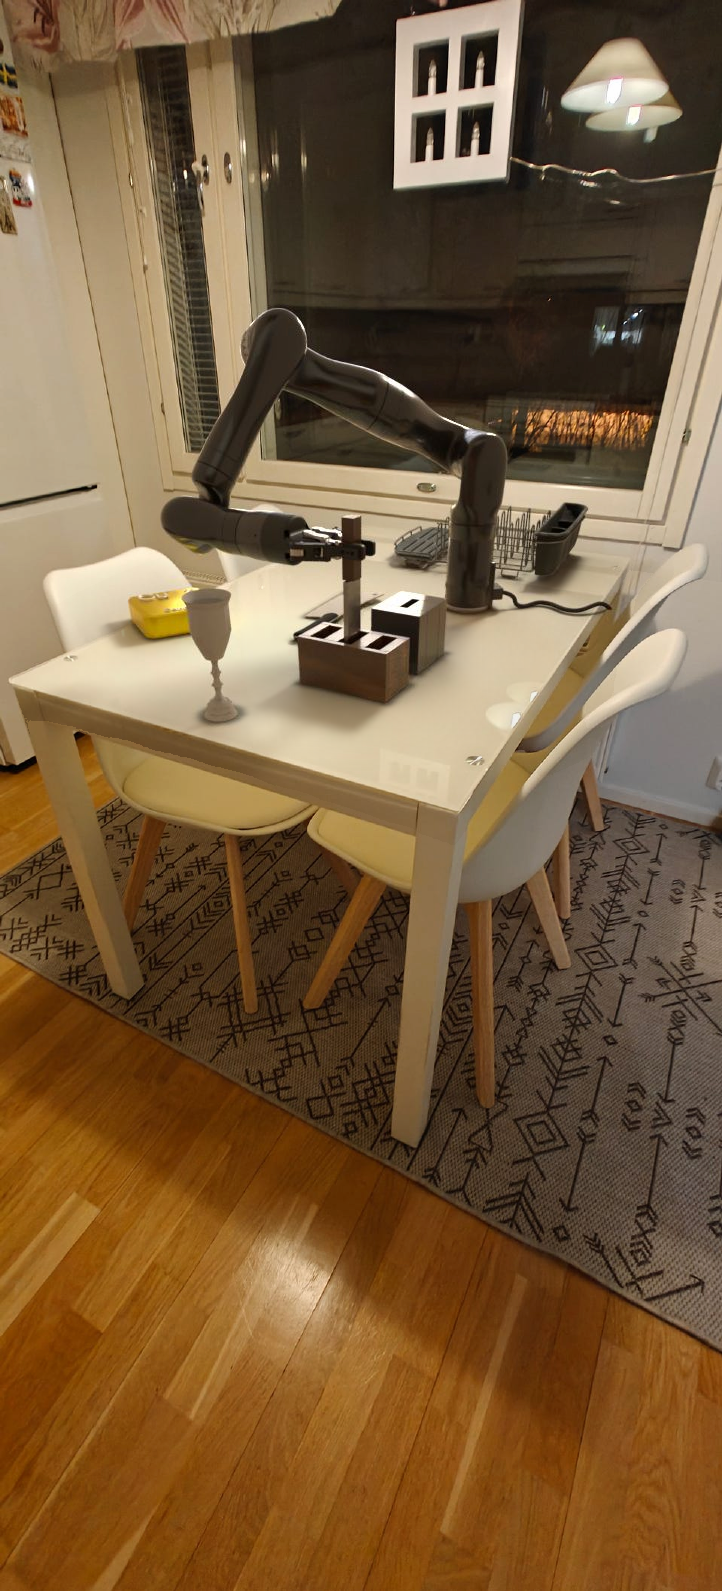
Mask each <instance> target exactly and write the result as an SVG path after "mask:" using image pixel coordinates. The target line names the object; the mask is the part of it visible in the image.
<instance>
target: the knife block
mask: <svg viewBox="0 0 722 1591" xmlns="http://www.w3.org/2000/svg"><path fill="white" fill-rule="evenodd" d="M447 610H448V609H447V598H445V597H442V596H441V597H440V596H433V595H427V594H422V593H421V594H420V593H414V592H408V591H403V590H401V591H399V592H397V593H395V594H394V595H392V596H390V597H388V598H387V599H385V600H383V601H381V602H380V603H377V605H374V606H373V607H371V608H370V631H375V632H381V633H386V634H392V635H397V636H402V637H408V638H410V645H409V674H414V675H419V674H420V673H422V672H423V671H424V670H425V669H427V668H428V667H429V666H430V665H431V664H433V663H434V662H435V661H436V660H438V659H439V658H440V657H442V655H444V654H445V643H446V642H445V641H446V628H447V625H446V623H447Z"/></svg>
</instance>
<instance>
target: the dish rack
mask: <svg viewBox="0 0 722 1591" xmlns="http://www.w3.org/2000/svg"><path fill="white" fill-rule="evenodd" d="M531 510H532V508H531V507H528V508H527V511H526V512H522V514H521V519H520V517H519V516H518V517H517V518H516V519H515V525H514V522H512V511H513V510H512V506H511V505H508V507H507V512H506V510H504V509H503V510H502V512H501V517H500V516H499V514H497V521H496V532H495V538H496V541H495V543H494V545H496V548H494V551H497V552H500V553H499V554H500V555H493V558H498V559H499V561H498V562H495V563H496V565H498V566H496V570H500V575H501V577H502V578H507V579H517V578H518V577H519V572H521V573H534V575H535V576H540V577H541V576H544V577H547V576H551V575H553V574H555V573H556V571H558V569H559V567H560V566H561V565H562V563H564V561H565V559H566V558H567V557H568V555H569V554H570V553H571V551H573V548H574V547H575V545H576V544H577V541H578V538H579V535H580V530H581V526H582V523H583V521H584V520H585V519H586V513H587V511H589V507H588V506H587V505H586V504H582V503H578V502H568V501H565V502H562V504H560V506H559V507H558V508H557V509H556V510H555V511H554V512H553V513H552V510H550V509H548V510H547V514H543V516H542V519H538V520H537V522H536V525H535V524H534V523H533V524H532V525H531V515H532V514H531ZM447 521H448V522H447ZM449 521H450V515H449V516H447V517H446V518H445V520H444V522H441V521H438V522H436V524H437V526H429V527H426V528H424V529H423V528H422V527H423V526H422V525H418V526H416V527H414V528H412V529H409V530H408V531H406V532H405V533H404V534H402V535H400V537H398V538H397V539H396V540H395V541H394V543H393V545H394V547H393V548H394V549H393V550H394V553H395V556H396V558H401V559H403V560H404V565H405V566H409V567H414V568H418V567H421V563H422V561H424V562H428V563H430V562H432V563H439V564H440V563H441V564H447V560H438V559H437V558H441V559H447V556H445V552H448V539H449ZM447 526H448V528H447ZM418 529H420V530H419V531H416V530H418ZM414 531H416V532H415V533H413V532H414ZM409 534H410V535H409ZM407 535H409V536H407ZM404 537H405V538H404ZM400 540H401V541H400ZM503 548H504V549H503ZM509 548H510V549H509ZM520 548H522V551H521V552H520ZM514 554H519V555H520V554H521V558H518V557H517V558H516V557H514ZM508 555H509V556H508ZM529 557H530V559H529ZM408 559H410V560H411V561H413V560H418V561H419V562H418V563H411V562H408ZM502 559H503V563H502ZM508 560H517V561H520V564H511V563H507V561H508ZM523 562H524V563H523ZM529 562H531V570H530V569H523V568H527V566H528V563H529ZM523 564H524V565H523ZM503 566H510V567H503ZM511 566H512V567H519V568H512V567H511ZM504 571H511V572H512V571H513V572H516V575H514V574H513V575H512V574H505V573H504Z"/></svg>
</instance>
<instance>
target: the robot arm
mask: <svg viewBox="0 0 722 1591" xmlns="http://www.w3.org/2000/svg"><path fill="white" fill-rule="evenodd" d="M239 353H240V357H241V360H242V363H243V364H244V367H243V370H242V373H241V375H240V377H239V380H238V383H237V384H236V387H235V388H234V390H233V392H232V394H231V396H230V398H229V399H228V401H227V403H226V405H225V407H224V408H223V410H222V412H220V414H219V417H218V418H217V420H216V421H215V423H214V424H213V426H212V428H211V430H210V432H209V434H208V436H207V438H206V439H205V442H204V444H203V446H202V448H201V451H200V452H199V455H198V457H197V459H196V461H195V463H194V465H193V468H192V471H191V474H190V478H191V481H192V483H193V485H194V486H195V488H196V490H197V492H198V497H195V496H190V495H179V496H176V497H173V498H171V499H170V500H168V501H167V502H166V503H165V504H164V505H163V507H162V508H161V511H160V525H161V527H162V529H163V531H164V532H165V533H166V535H167V536H168V537H169V538H171V539H172V540H173V541H175V542H177V543H178V544H180V545H181V546H183V547H184V548H186V549H187V550H188V551H190V552H191V553H193V554H195V555H200V556H203V555H207V554H209V553H211V552H212V551H213V550H215V549H217V550H219V551H220V552H221V553H225V554H228V555H232V556H239V557H245V558H249V559H252V560H257V561H260V562H265V563H266V562H267V563H272V564H280V565H284V566H285V565H286V566H292V567H295V566H298V565H300V564H301V563H302V562H315V563H317V562H318V563H322V562H323V563H329V562H331V561H332V560H335V561H339V560H342V558H343V559H350V560H357V561H361V562H362V561H365V560H366V557H373V556H375V555H376V551H377V547H376V546H377V544H376V540H374V539H367V538H361V544H356V543H348V542H342V526H337V525H335V526H332V528H331V529H328V528H327V529H325V527H322V526H312V527H311V528H310V526H309V524H308V522H307V521H306V520H305V519H306V518H304V517H303V516H302V515H300V514H297V513H289V512H281V511H272V510H264V509H263V510H262V509H258V510H255V509H254V510H249V509H242V508H231V507H230V505H231V497H232V493H233V490H234V489H235V486H236V485H237V483H238V481H239V478H240V476H241V474H242V472H243V471H244V470H243V469H244V467H245V465H246V463H247V460H248V459H249V456H250V454H251V452H252V449H253V447H254V445H255V443H256V441H257V438H258V436H259V434H260V432H261V429H262V428H263V426H264V424H265V422H266V419H267V417H268V416H269V413H270V412H271V410H272V408H273V407H274V405H275V403H276V401H277V399H278V398H279V396H280V395H281V393H282V391H285V392H289V393H291V394H294V395H297V396H298V397H301V398H304V399H305V400H306V399H307V400H309V401H310V402H312V403H315V404H316V405H318V406H320V407H322V408H323V409H325V410H327V411H328V412H330V413H332V414H333V415H335V416H337V417H339V418H341V419H343V420H345V421H347V422H348V423H351V424H352V425H353V426H356V427H358V428H359V429H361V430H363V431H365V432H367V433H369V434H371V435H372V436H374V437H376V438H379V439H380V440H383V441H385V442H388V443H390V444H392V445H395V446H398V447H401V448H403V449H407V450H409V451H413V452H416V453H418V454H420V455H422V456H424V457H426V458H427V459H429V460H430V461H432V462H434V463H435V464H436V465H438V466H440V467H441V468H443V469H444V470H445V471H446V472H448V473H450V474H451V475H452V476H453V477H454V478H456V479H458V480H459V481H460V485H459V494H458V499H457V500H456V502H455V503H453V504H452V505H451V506H450V509H449V518H450V521H449V539H448V547H447V550H448V551H447V556H446V557H447V558H446V561H447V563H446V575H445V576H446V577H445V583H444V584H445V585H444V587H445V594H444V598H447V610H449V611H452V612H455V613H462V614H477V613H483V612H485V611H487V610H493V602H494V601H500V600H503V597H504V596H507V597H509V598H510V599H511V600H512V603H513V606H514V607H516V608H518V609H528V608H531V607H534V606H535V607H536V606H548V607H551V608H554V609H556V610H558V611H561V612H564V613H571V614H579V613H583V612H587V611H589V610H591V609H594V608H596V607H597V608H598V607H603V608H604V609H605V610H607V611H612V610H613V607H612V606H611V605H610V604H609V603H607V602H605V601H594V602H592V603H590V604H588V605H585V606H581V607H576V608H572V607H566V606H563V605H560V604H558V603H556V602H553V601H548V600H543V599H539V600H533V601H530V602H527V603H519V601H518V599H517V596H516V595H515V594H514V593H513V592H510V591H508V590H505V589H504V587H502V585H500V584H499V583H498V582H495V581H496V570H497V569H496V567H497V564H496V563H497V562H496V561H494V557H493V556H494V554H495V553H494V552H495V550H494V549H495V544H494V543H496V537H495V532H496V521H497V522H498V518H497V514H498V513H499V512H500V509H501V507H502V504H503V499H504V493H505V486H506V485H505V484H506V478H507V471H508V450H507V446H506V444H505V442H504V440H503V439H502V438H501V437H500V436H499V435H497V434H496V433H493V432H489V431H485V430H481V429H477V428H471V427H467V426H465V425H462V424H459V423H457V422H454V421H453V420H451V419H448V418H446V417H444V416H442V415H440V414H439V413H437V412H436V411H434V410H433V409H432V408H431V407H430V406H429V405H428V404H427V403H426V402H425V401H424V400H422V399H421V398H420V397H419V396H418V395H417V394H415V393H414V392H413V391H412V390H410V389H409V388H408V387H406V386H404V385H403V384H401V383H399V382H398V381H395V380H394V379H392V378H390V376H389V377H388V376H387V375H385V374H384V373H381V372H378V371H376V370H374V369H372V368H368V367H365V366H360V365H357V364H352V363H348V362H343V361H339V360H334V359H332V358H328V357H326V356H324V355H321V354H320V353H318V352H316V351H315V350H312V349H311V348H309V347H308V339H307V333H306V330H305V327H304V324H303V323H302V321H301V320H300V319H299V317H298V316H297V315H296V314H294V313H293V312H292V311H290V310H288V309H286V308H282V307H281V308H280V307H277V308H276V307H275V308H271V309H268V310H265V311H263V312H262V313H261V314H259V315H258V316H257V317H256V318H255V319H254V320H253V321H252V323H250V324H249V325H248V327H247V328H246V330H244V332H243V334H242V336H241V338H240V343H239ZM498 515H499V514H498Z"/></svg>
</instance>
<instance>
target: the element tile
mask: <svg viewBox="0 0 722 1591" xmlns="http://www.w3.org/2000/svg"><path fill="white" fill-rule="evenodd" d="M198 589H199V588H197V587H188V588H182V589H175V590H169V591H167V590H166V591H162V592H161V591H160V592H154V593H143V594H139V595H136V596H131V597H129V598H128V600H127V603H128V609H129V613H130V619H131V621H132V622H133V623H134V625H135V626H136V627H137V628H138V630H140V632H141V633H142V634H143V636H144V637H146V638H147V639H153V640H155V639H156V640H157V639H162V638H163V639H164V638H169V637H175V636H180V635H181V636H182V635H186V634H190V629H189V622H188V615H187V608H186V605H185V604H184V602H183V601H182V598H181V597H182V596H183V595H184V594H185V593H187V592H190V591H193V590H198Z"/></svg>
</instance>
